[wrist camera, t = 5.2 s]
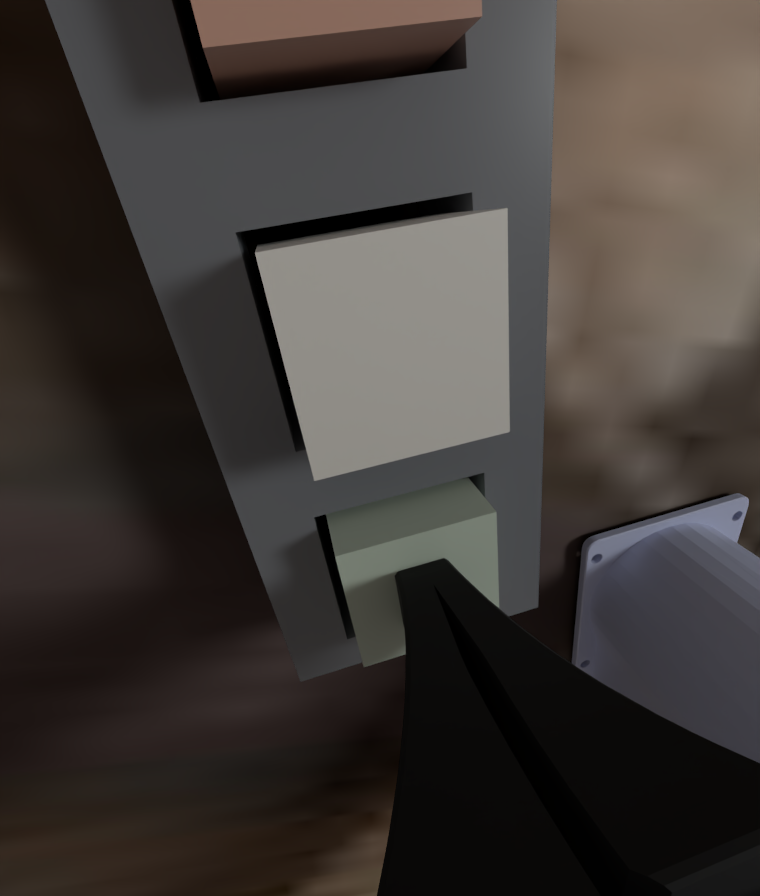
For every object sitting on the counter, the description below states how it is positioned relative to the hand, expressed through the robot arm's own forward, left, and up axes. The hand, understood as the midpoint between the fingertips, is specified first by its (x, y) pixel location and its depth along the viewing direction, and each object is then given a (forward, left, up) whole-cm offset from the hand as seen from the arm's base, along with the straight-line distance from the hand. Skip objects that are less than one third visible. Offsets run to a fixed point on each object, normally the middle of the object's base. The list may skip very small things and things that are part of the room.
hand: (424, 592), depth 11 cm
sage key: (0, 0, -3) cm, 3 cm away
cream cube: (+7, 0, -3) cm, 7 cm away
